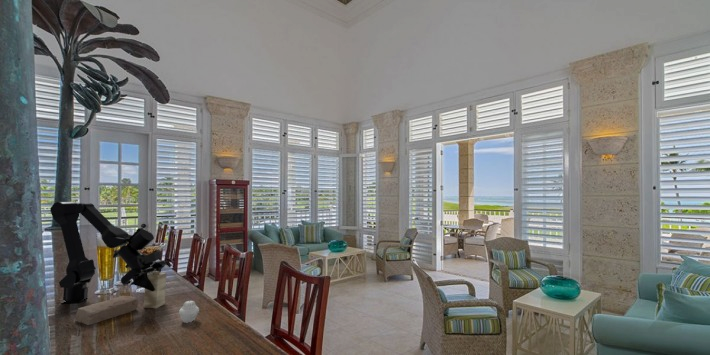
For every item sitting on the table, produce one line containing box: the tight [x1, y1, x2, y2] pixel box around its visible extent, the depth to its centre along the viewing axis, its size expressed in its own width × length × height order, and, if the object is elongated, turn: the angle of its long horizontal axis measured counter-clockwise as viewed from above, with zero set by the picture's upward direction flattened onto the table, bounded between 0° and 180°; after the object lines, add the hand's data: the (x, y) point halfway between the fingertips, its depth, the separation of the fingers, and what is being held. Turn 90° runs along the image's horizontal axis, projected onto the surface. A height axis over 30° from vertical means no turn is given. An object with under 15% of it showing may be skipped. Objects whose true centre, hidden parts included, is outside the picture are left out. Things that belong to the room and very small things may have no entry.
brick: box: [75, 295, 139, 326], centre depth 119 cm, size 17×8×5 cm, turn 157°
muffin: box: [178, 300, 200, 324], centre depth 116 cm, size 6×6×7 cm
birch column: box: [143, 271, 167, 309], centre depth 130 cm, size 5×5×13 cm
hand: (158, 288), depth 130 cm, fingers closed on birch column, 5 cm apart
